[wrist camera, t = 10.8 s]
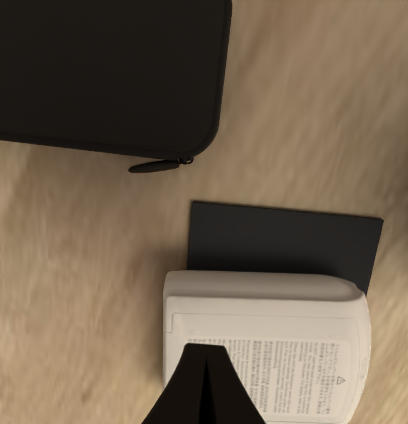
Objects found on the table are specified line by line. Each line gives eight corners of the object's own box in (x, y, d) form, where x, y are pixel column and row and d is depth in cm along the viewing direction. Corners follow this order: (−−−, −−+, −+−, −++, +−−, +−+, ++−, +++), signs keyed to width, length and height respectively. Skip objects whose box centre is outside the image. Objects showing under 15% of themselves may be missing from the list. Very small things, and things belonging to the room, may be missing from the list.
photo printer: (167, 394, 23) (339, 397, 23) (159, 451, 19) (369, 455, 19) (167, 259, 20) (358, 263, 21) (157, 290, 16) (398, 295, 16)
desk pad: (380, 218, 20) (384, 220, 20) (324, 465, 25) (326, 470, 24) (192, 201, 20) (192, 202, 20) (171, 452, 25) (170, 457, 24)
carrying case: (-28, 151, 19) (211, 178, 20) (-70, 154, 16) (212, 186, 17) (-40, -51, 17) (234, -17, 17) (-92, -90, 14) (240, -49, 14)
